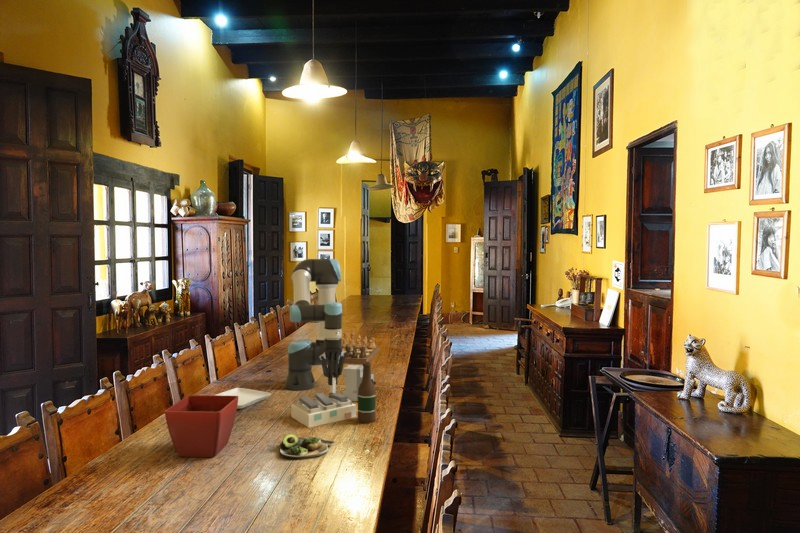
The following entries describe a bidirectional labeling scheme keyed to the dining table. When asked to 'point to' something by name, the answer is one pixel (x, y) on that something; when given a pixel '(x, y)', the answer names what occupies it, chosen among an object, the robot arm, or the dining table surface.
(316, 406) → the rocker
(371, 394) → the beer bottle
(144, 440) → the dining table surface
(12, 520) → the dining table surface
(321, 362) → the robot arm
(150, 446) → the dining table surface
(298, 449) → the salad plate
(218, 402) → the plant pot
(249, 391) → the salad plate
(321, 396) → the block
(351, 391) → the circuit breaker
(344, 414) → the console
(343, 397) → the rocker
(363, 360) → the chess set
